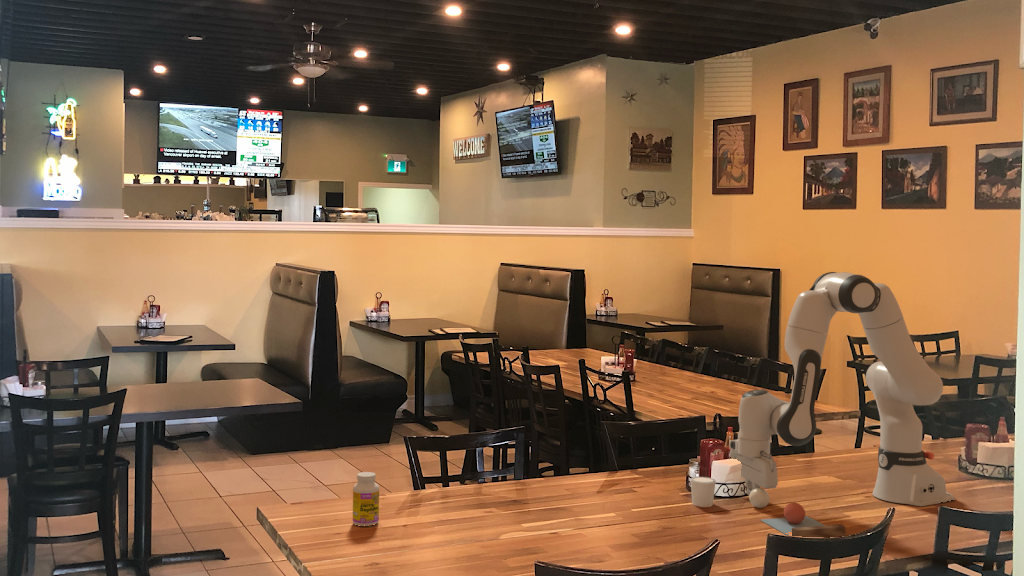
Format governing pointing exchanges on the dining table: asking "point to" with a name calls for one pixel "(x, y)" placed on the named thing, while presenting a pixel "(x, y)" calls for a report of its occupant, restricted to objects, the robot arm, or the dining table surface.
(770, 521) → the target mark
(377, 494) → the supplement bottle
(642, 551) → the dining table surface
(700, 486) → the white cup
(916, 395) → the robot arm
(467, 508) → the dining table surface
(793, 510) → the red ball
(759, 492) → the cue ball
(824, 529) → the strip
